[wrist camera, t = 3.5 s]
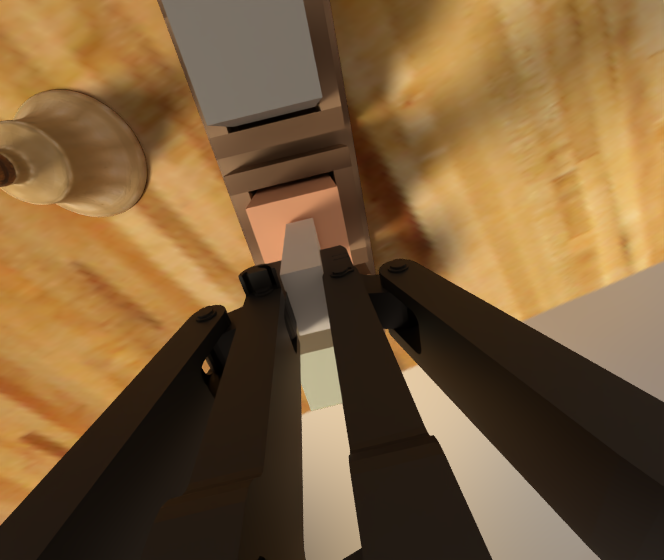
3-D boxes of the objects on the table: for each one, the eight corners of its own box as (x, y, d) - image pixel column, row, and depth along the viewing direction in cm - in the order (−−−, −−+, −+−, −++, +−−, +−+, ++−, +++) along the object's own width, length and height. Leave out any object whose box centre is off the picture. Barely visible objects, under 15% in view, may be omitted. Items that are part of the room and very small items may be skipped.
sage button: (292, 306, 24) (291, 357, 19) (353, 291, 24) (370, 337, 19) (308, 353, 26) (311, 411, 21) (364, 340, 26) (381, 393, 21)
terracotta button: (258, 189, 21) (245, 208, 16) (326, 172, 21) (337, 186, 16) (278, 253, 24) (273, 289, 18) (340, 237, 24) (354, 269, 18)
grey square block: (198, 22, 16) (149, -33, 10) (291, -1, 16) (289, -68, 10) (233, 126, 18) (207, 125, 13) (314, 106, 18) (322, 97, 13)
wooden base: (160, 1, 18) (121, -36, 14) (321, -39, 18) (328, -88, 14) (289, 352, 31) (288, 386, 27) (383, 329, 31) (397, 359, 27)
